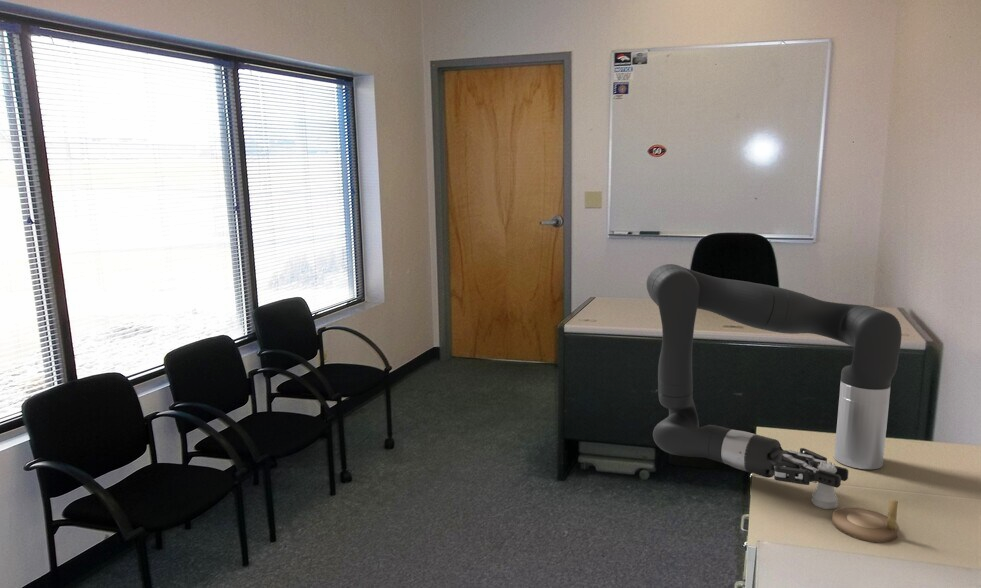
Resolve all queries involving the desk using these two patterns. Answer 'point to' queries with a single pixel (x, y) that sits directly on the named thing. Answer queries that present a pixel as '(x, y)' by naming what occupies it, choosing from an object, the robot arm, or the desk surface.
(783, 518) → the desk surface
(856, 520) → the handwheel with crank handle
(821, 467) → the rook chess piece
